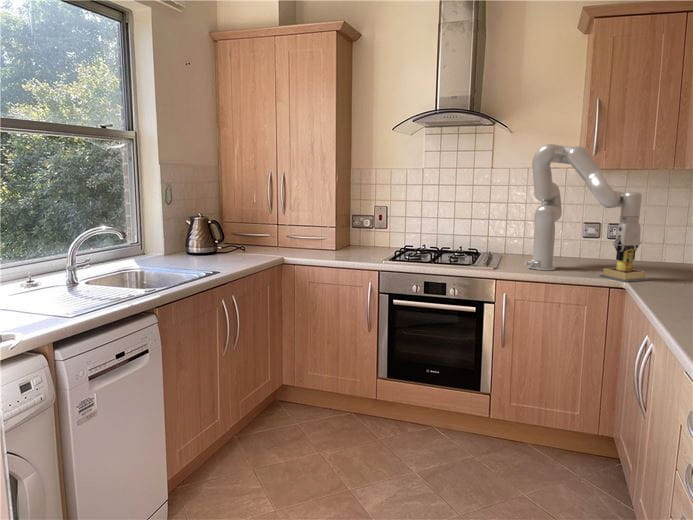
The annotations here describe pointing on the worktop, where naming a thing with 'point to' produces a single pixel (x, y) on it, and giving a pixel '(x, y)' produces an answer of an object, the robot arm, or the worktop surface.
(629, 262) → the sauce bottle
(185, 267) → the worktop surface
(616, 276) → the yellow square tray
